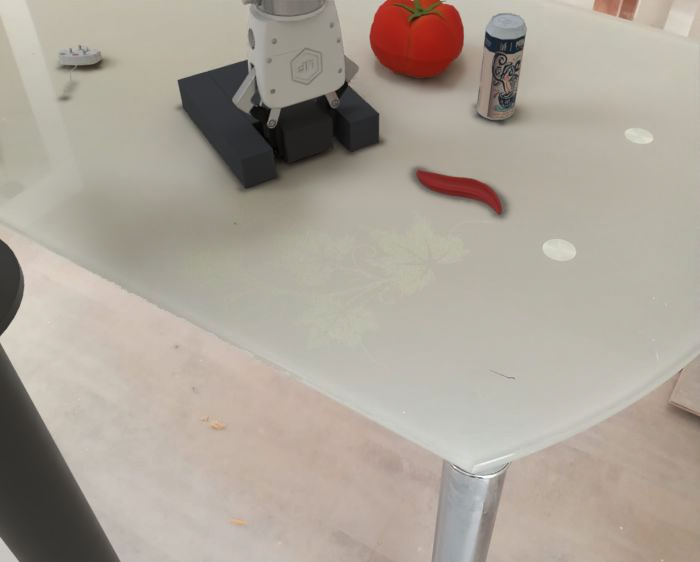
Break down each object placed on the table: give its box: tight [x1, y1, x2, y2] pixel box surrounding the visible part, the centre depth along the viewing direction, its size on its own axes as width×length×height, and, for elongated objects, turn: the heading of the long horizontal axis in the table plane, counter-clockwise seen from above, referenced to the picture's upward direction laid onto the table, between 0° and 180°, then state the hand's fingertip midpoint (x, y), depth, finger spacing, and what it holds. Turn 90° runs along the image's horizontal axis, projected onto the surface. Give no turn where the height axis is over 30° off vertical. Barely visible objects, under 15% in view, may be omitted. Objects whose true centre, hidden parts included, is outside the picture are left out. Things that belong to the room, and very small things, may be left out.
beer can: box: [476, 12, 528, 121], centre depth 94 cm, size 5×5×12 cm
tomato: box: [368, 0, 465, 79], centre depth 103 cm, size 14×13×9 cm
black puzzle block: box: [278, 99, 334, 164], centre depth 92 cm, size 6×7×4 cm
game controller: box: [57, 44, 103, 99], centre depth 106 cm, size 6×12×3 cm, turn 16°
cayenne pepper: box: [416, 169, 503, 215], centre depth 88 cm, size 12×5×2 cm, turn 42°
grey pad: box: [177, 58, 380, 189], centre depth 96 cm, size 18×20×4 cm
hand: (301, 140), depth 93 cm, fingers closed on black puzzle block, 6 cm apart
